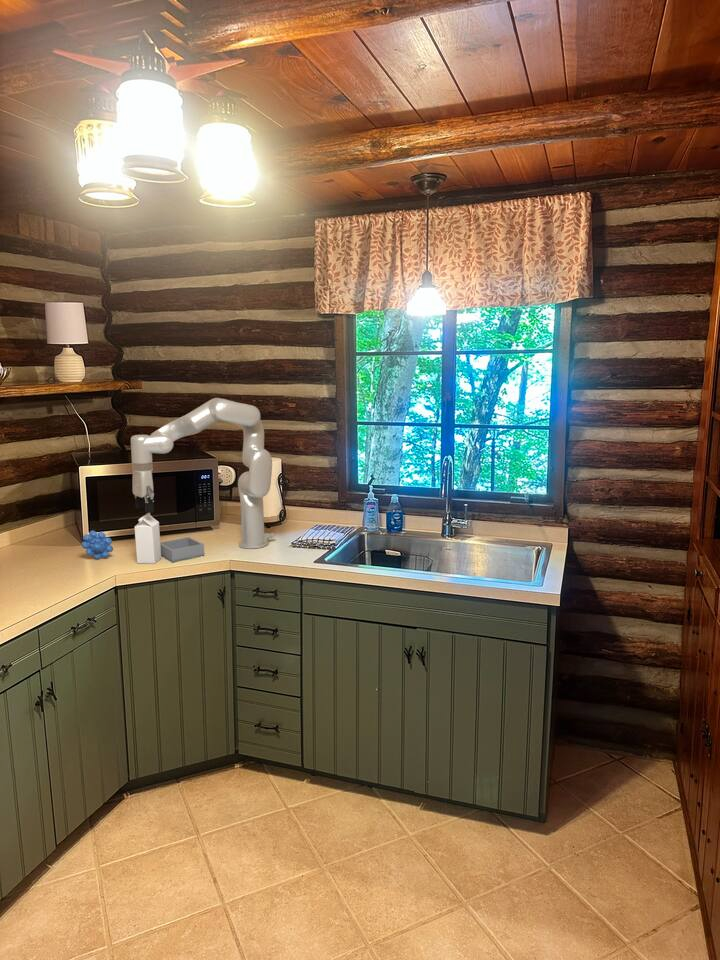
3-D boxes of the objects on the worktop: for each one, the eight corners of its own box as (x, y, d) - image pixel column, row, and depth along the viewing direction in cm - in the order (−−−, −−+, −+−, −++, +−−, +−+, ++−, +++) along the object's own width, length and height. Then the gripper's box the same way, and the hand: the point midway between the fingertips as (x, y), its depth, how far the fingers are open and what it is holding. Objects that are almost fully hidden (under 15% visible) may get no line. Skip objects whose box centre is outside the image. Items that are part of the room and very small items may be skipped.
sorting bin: (189, 548, 290) (188, 537, 289) (204, 555, 279) (203, 544, 278) (158, 554, 281) (157, 543, 280) (172, 562, 271) (171, 550, 270)
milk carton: (161, 558, 276) (158, 512, 273) (154, 564, 269) (151, 516, 266) (144, 558, 277) (141, 512, 273) (137, 563, 270) (133, 516, 266)
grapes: (82, 563, 270) (79, 534, 268) (83, 558, 277) (80, 530, 274) (113, 560, 274) (111, 531, 272) (114, 556, 280) (111, 527, 278)
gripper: (124, 465, 270) (127, 507, 273) (141, 471, 257) (143, 515, 260) (143, 463, 275) (145, 505, 278) (160, 469, 261) (163, 513, 265)
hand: (144, 510), depth 269 cm, fingers open, 9 cm apart
